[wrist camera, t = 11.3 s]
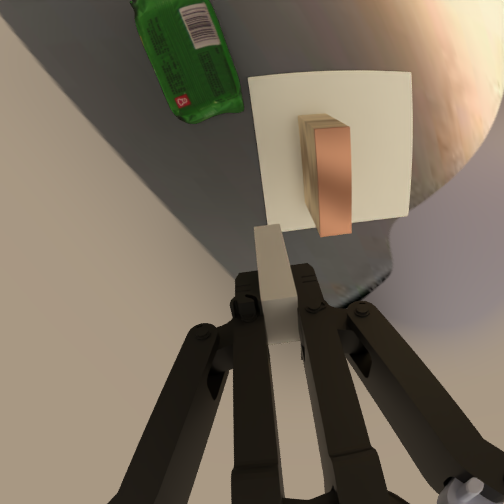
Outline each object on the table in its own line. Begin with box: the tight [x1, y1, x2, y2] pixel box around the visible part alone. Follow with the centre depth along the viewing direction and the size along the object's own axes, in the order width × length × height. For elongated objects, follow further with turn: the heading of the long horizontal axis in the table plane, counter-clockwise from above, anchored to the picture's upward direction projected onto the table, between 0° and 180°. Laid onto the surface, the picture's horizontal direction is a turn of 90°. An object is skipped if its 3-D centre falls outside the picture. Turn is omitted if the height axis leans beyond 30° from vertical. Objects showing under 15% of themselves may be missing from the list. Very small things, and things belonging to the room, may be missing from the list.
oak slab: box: [298, 113, 352, 237], centre depth 30 cm, size 10×3×8 cm, turn 8°
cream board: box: [248, 70, 413, 232], centre depth 33 cm, size 18×18×1 cm
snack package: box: [130, 0, 244, 124], centre depth 25 cm, size 7×16×5 cm, turn 18°
